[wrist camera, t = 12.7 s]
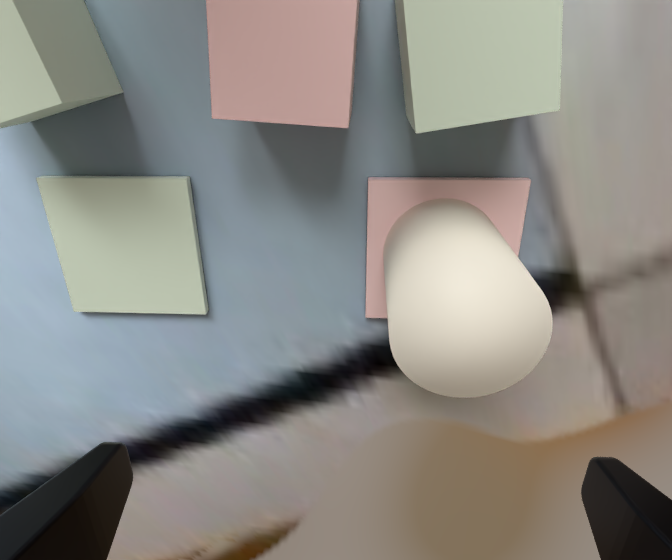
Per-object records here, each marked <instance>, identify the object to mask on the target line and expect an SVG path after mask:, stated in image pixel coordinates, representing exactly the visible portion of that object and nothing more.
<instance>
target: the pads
mask: <svg viewBox="0 0 672 560" xmlns="http://www.w3.org/2000/svg"><path fill="white" fill-rule="evenodd" d="M36 179H37V183H38V186H39V190H40V193H41V197H42V200H43V204H44V207H45V211H46V215H47V218H48V222H49V225H50V229H51V232H52V236H53V239H54V243H55V246H56V250H57V253H58V257H59V260H60V264H61V268H62V271H63V275H64V278H65V282H66V285H67V289H68V292H69V296H70V299H71V303H72V306H73V310H74V312H117V313H164V314H207V312H208V310H209V309H208V302H207V295H206V288H205V281H204V274H203V267H202V260H201V253H200V246H199V239H198V232H197V225H196V218H195V211H194V204H193V197H192V190H191V183H190V176H40V177H38V178H36ZM530 183H531V180H530V179H529V178H453V177H368V215H367V266H366V318H388V316H387V303H386V290H385V276H384V263H383V249H384V244H385V240H386V237H387V235H388V232H389V231H390V229H391V227H392V226H393V224H394V223H395V222H396V220H397V219H398V218H399V217H400V216H401V215H402V214H404V213H405V212H406V211H407V210H409V209H410V208H412V207H414V206H415V205H418V204H420V203H422V202H425V201H428V200H433V199H440V198H451V199H458V200H462V201H465V202H468V203H470V204H472V205H474V206H476V207H477V208H479V209H480V210H482V211H483V212H484V213H485V214H486V215H487V216H488V217H489V219H490V220H491V221H492V222H493V224H494V225H495V227H496V228H497V229H498V231H499V232H500V233H501V235H502V236H503V238H504V239H505V240H506V242H507V243H508V245H509V246H510V247H511V249H512V250H513V251H514V253H515V254H516V256H517V257H518V254H519V248H520V242H521V237H522V231H523V225H524V219H525V213H526V207H527V201H528V195H529V189H530Z"/></svg>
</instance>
